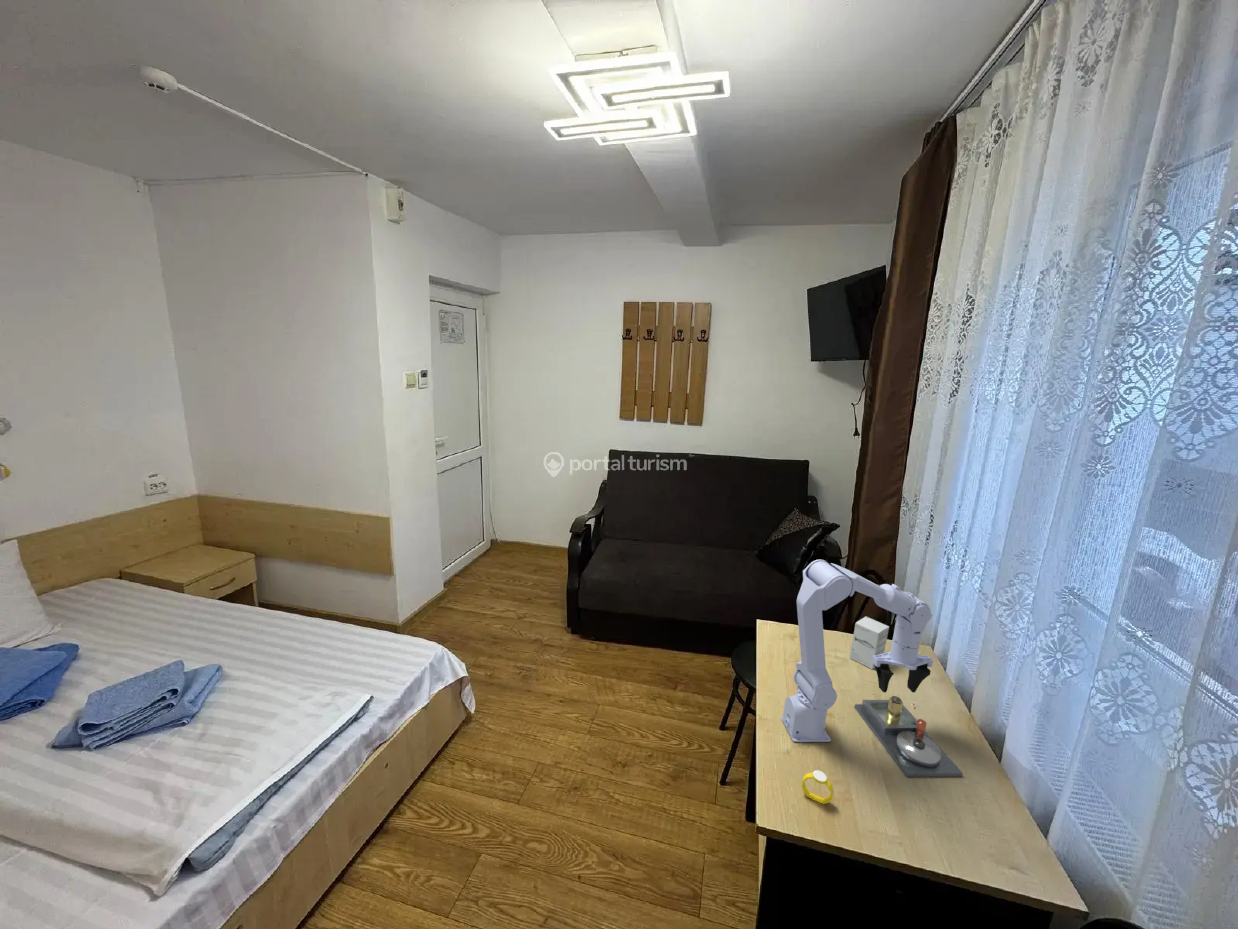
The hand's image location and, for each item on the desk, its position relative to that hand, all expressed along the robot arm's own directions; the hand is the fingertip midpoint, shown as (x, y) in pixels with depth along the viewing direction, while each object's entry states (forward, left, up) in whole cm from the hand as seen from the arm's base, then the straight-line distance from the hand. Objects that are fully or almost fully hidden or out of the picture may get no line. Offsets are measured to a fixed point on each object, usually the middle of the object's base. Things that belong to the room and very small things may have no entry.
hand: (896, 689), depth 121 cm
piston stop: (0, -1, -9) cm, 9 cm away
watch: (-30, -21, -10) cm, 38 cm away
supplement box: (+9, +27, -10) cm, 30 cm away
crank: (0, -10, -9) cm, 13 cm away
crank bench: (0, -5, -10) cm, 11 cm away
